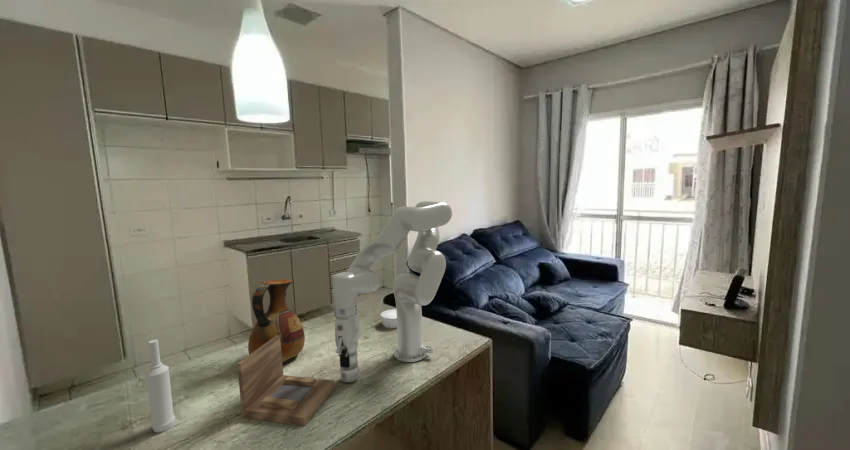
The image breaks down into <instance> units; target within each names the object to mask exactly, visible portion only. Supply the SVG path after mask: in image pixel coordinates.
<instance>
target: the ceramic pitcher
mask: <svg viewBox="0 0 850 450" xmlns="http://www.w3.org/2000/svg"><path fill="white" fill-rule="evenodd" d="M292 283H293V280H291V279H288V278H287V279H285V278H284V279H276V280H275V279H273V280H264V281H262V283H261V284H260V285H259V286H257V288H256V289H255V291H254V293H253V294H252V298H251V299H252V300H251V305H252V310H253V314H254V315H255V316H254V317H255V319H256V323H255V324H254V326H253V328H252V329H251V332H250V335H249V339H248V344H247V348H248V349H247V351H248V355H250V354H251V353H252V352H254V351H255V350H257V349H258V348H260V347H261V346H262V345H264V344H265V343H267V342H268V341H269V340H271V339H272V338H274V337H275V336H276V335H280V341H281V353H282V363H284V362H286V361H288V360H289V359H291V358H293V357H295V356H297V355H299V354H301V352H302V350H303V349H304V347H305V342H306V341H305V340H306V338H305V337H306V335H305V330H304V327H303V324H302V321H301V319H300V318H299V317H298V316H297V315H296V313H294V311H293V310H291V309H290V308H288V304H287V301H286V296H287V289H288V287H289V286H290V285H291V284H292ZM266 292H268V293H269V294H268V295H269V305H268V309H267V311H266V312H265V310H264V296H265V293H266Z"/></svg>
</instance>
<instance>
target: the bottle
mask: <svg viewBox="0 0 850 450" xmlns="http://www.w3.org/2000/svg"><path fill="white" fill-rule="evenodd" d="M148 349H149V356H150V361H151V362H150V363H151V365H150V367H149V369H147V371H146V372H145V373H144V377H145V382H146V388H147V389H146V390H147V394H148V401H149V407H150V413H151V419H152V423H151V428H152V430H153V431H154V432H155V433H163V432H166V431H168V430H170V429H172V427H174V426H175V423H176V416H175V415H174V408H173V407H174V405H173V398H172V389H171V378H170V367H169V366H168V365H165V364H163V362H161V355H160V347H159V339H151V340H150V341H148Z"/></svg>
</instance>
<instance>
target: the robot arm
mask: <svg viewBox="0 0 850 450" xmlns="http://www.w3.org/2000/svg"><path fill="white" fill-rule="evenodd" d="M452 217H453V210H452V207H451V206H450V205H449V204H448V203H447V202H444V201H426V200H425V201H424V200H423V201H419V202H418V203H417V204H416V205H415V206H405V205H404V206H400V207H397V208H396V209H395V210H394V211H393V213H392V215H391V216H390V218H389V219H388V220H387V223H386V224H385V226H384V227H383V229H382V230H381V231H380V233H379V235H378V236H377V237H376V238H375V240H373V241H372V242H370V243H369V244H368V245H366V246H365V247H364V248H363V249H362V250H361V251H360V252H358V254H357V255H356V257H354V259H353V261H352V262H351V264H350V266H349V267H348V269H347V271H343V272H338V273H336V274H334V275H333V276H332V294H333V295H332V296H333V297H332V298H333V311H334V317H335V325H334V326H335V327H334V329H335V330H334V331H335V332H334V335H335V336H334V337H335V340H334V341H335V346H336V350H335V353H336V354H337V355H338V357H339V367H345V368H349V367H350V358H349V355H348V350H349V348H351V347H352V346H353V345H354V337H355V334H357V336H358V340H359V339H360V338H361V334H362V333H361V325H360V317H359V316H360V315H359V311H358V310H359V307H358V305H359V304H358V294H359V295H360V294H370V293H373V292H375V291H377V290H379V288H380V287H381V285H382V278H381V275H380V274H379V273H378V272H377V271H374V270H373V269H371V268H372V267H373V265H374V264H375V263H377V262H378V261H379V260H380V259H382V258H384V257H388V256H390V255H393V254H395V253H397V252H398V251H399V249H400V247H401V246H402V245H403V242H404V241H405V239H406V238H407V236H408V234H409V233H410V232H418V234H417V236H416V239H415V242H414V244H413V246H412V248H411V251H410V253H409V256H408V259H407V267H408V268H409V269H410V271H411V270H412V271H413V272H416V273H419V274H420V275H416V274H413V273H408V272H404V273H400V274H399V275H397V277H395V278H394V281H393V286H392V287H393V288H392V290H393V295H394V298H395V307H396V310H397V328H396V329H397V331H396V332H397V333H396V335H397V347H396V349H394V351H393V356H394V358H395V359H396V360H397V361H399V362H404V363H414V362H419V361H421V360H423V359H425V357H426V356H427V354H434V353H435V351H434V350H435V349H434V347H433V346H432V344H426V343H425V340H423V314H422V313H423V311H422V306H427V305H430V304H431V302H432V301H433V300H434V298H435V296H436V295H437V292H438V290H439V287H440V284H441V282H442V279H443V277H444V274H445V272H446V269H447V261H446V256H445V255H444V254H443V253H442V252H441V251H439V250H437V248H438V244H439V241H440V230H439V228H440V227H442V226H445V225H447V224H448V223H449V222H450V221H451V219H452ZM343 344H344V346H343ZM342 348H343V349H346V351H342Z"/></svg>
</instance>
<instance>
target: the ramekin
mask: <svg viewBox="0 0 850 450" xmlns="http://www.w3.org/2000/svg"><path fill="white" fill-rule="evenodd" d="M380 318H381V323H382V326H383V327H384V328H387V329H397V310H396V309H393V308H392V309H386V310H384V311H382V312H381V313H380Z"/></svg>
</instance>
